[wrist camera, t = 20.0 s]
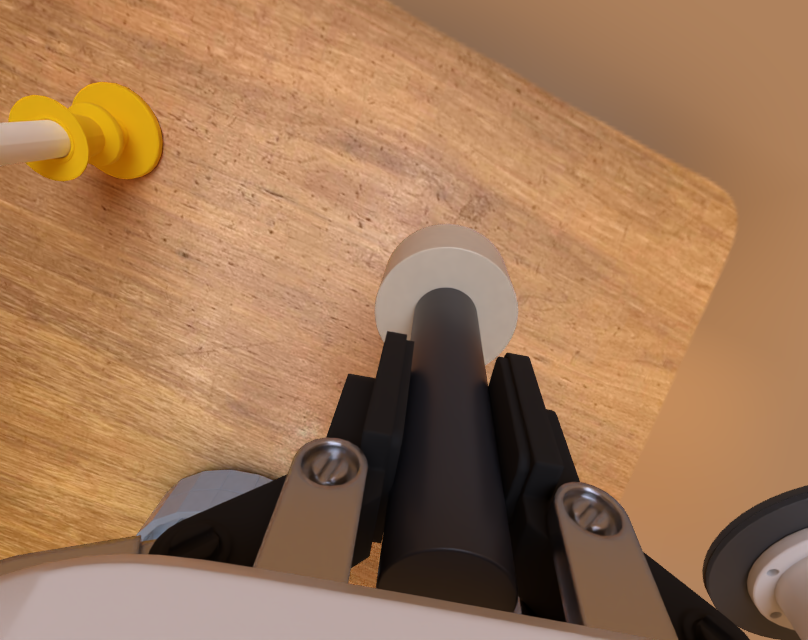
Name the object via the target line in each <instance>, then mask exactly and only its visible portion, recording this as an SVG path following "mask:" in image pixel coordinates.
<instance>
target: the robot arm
mask: <svg viewBox="0 0 808 640" xmlns="http://www.w3.org/2000/svg"><path fill="white" fill-rule="evenodd" d="M413 350H414V341H410V340H407V334H401V333H396V332H390V331H387V334H386V338H385V342H384V346H383V350H382V354H381V359H380V363H379V367H378V371H377V375H376V378H371V377H365V376H360V375H354V374H348V376H347V379H346V382H345V385H344V387H343V390H342V393H341V396H340V399H339V402H338V405H337V408H336V411H335V414H334V417H333V419H332V422H331V425H330V428H329V431H328V434H327V437H326V438H321V439H315V440H313V441H311V442H308V443H306V444H305V445H304V446H303V447H301V448H300V449H299V450H298V452H297V453H296V455H295V456H294V458H293V461H292V464H291V466H290V469H289V472H288V474H287V475H285V476H282V477H280V478H278V479H276V480H273V481H271V482H269V483H266V484H264V485H262V486H260V487H257V488H255V489H253V490H250V491H248V492H246V493H244V494H241V495H239V496H237V497H234V498H232V499H230V500H228V501H225V502H223V503H221V504H218V505H216V506H214V507H212V508H209V509H207V510H205V511H202V512H200V513H198V514H196V515H193V516H191V517H189V518H186V519H184V520H182V521H180V522H178V523H176V524H175V525H173V526H171V527H170V528H168V529H167V530H166V531H165V532H164V533H162V534H161V535H160V536H159V537H158V538H157V539H153V540H148V541H142V538H141V535H138V536H132V537H126V538H120V539H114V540H108V541H102V542H96V543H90V544H83V545H77V546H71V547H65V548H59V549H53V550H47V551H41V552H35V553H29V554H23V555H17V556H13V557H10V558H6V559H3V560H0V640H750V639H749V638H748V637H747V636H746V635H745V633H744V632H743V631H742V630H740V628H738V627H737V626H736V625H735V624H734V623H733V622H732V621H731V620H729V619H728V618H727V617H726V616H724V615H723V614H722V613H721V612H719V611H718V610H717V609H715V608H714V607H713V606H712V605H710V604H709V603H708V602H706V601H705V600H704V599H702V598H701V597H700V596H699V595H698V594H696V593H695V592H693V591H692V590H691V589H690V588H688V587H687V586H686V585H685V584H684V583H682V582H681V581H680V580H678V579H677V578H676V577H675V576H673V575H672V574H671V573H669V572H668V571H667V570H666V569H664V568H663V567H662V566H661V565H659V564H658V563H657V562H655V561H654V560H653V559H652V558H650V557H649V556H648V555H647V554H645V553H644V552H643V551H642V549H641V546H640V544H639V541H638V539H637V536H636V534H635V531H634V529H633V526H632V524H631V521H630V519H629V517H628V515H627V513H626V512H625V510H624V508H623V507H622V506H621V505H620V504H619V503H618V502H617V501H616V500H615V499H614V498H613V497H612V496H610V495H609V494H608V493H606V492H605V491H603V490H601V489H599V488H597V487H595V486H593V485H589V484H586V483H582V482H580V481H579V478H578V475H577V472H576V469H575V466H574V463H573V461H572V458H571V455H570V452H569V449H568V446H567V443H566V440H565V438H564V435H563V432H562V429H561V426H560V423H559V420H558V417H557V415H556V413H555V412H554V411H552V410H547V409H546V408H545V405H544V402H543V399H542V396H541V393H540V389H539V386H538V383H537V380H536V377H535V374H534V371H533V367H532V364H531V361H530V358H529V357H528V356H523V355H517V354H512V353H506V355H505V356H504V357H498V358H497V360H496V363H495V366H494V369H493V373H492V376H491V379H490V383H489V386H488V390H489V396H490V403H491V410H492V417H493V423H494V430H495V437H496V444H497V450H498V457H499V464H500V471H501V477H502V484H503V491H504V497H505V504H506V511H507V518H508V524H509V531H510V538H511V545H512V551H513V558H514V565H515V572H516V578H517V585H518V594H519V596H518V602H517V606H516V608H515V610H514V612H513V613H511V612H505V611H500V610H494V609H489V608H483V607H477V606H472V605H466V604H461V603H455V602H450V601H444V600H439V599H433V598H427V597H422V596H416V595H411V594H405V593H399V592H394V591H388V590H382V589H376V588H371V587H365V586H359V585H354V584H348V581H349V576H350V570H351V568H352V567H354V566H355V565H357V564H358V563H360V562H361V561H363V560H365V559H366V558H368V557H369V556H370V551H371V545H372V542H377V543H381V541H382V536H383V532H384V525H385V518H386V511H387V504H388V497H389V493H390V490H391V488H392V486H393V484H394V479H395V474H396V469H397V464H398V460H399V455H400V450H401V444H402V439H403V432H404V425H405V416H406V408H407V400H408V392H409V383H410V375H411V367H412V358H413ZM747 588H748V593H749V595H750V597H751V599H752V601H753V602H754V604H755V606H756V607H757V609H758V610H759V612H760V613H761V614H762V615H763V616H764V617H766V618H767V619H768V620H770V621H772V622H774V623H776V624H777V625H780V626H783V627H786V628H789V629H792V630H795V631H796V633H797V634H798V636H799V637H800V639H801V640H808V527H807V528H804V529H801V530H799V531H797V532H794V533H792V534H790V535H788V536H786V537H784V538H782V539H781V540H779V541H777V542H776V543H774V544H773V545H771V546H770V547H769V548H768V549H767V550H765V551H764V552H763V553H762V554H761V555H760V556H759V558H758V559H757V560H756V561H755V562H754V564H753V566H752V568H751V570H750V572H749V575H748V579H747Z"/></svg>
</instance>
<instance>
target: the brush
mask: <svg viewBox="0 0 808 640" xmlns="http://www.w3.org/2000/svg"><path fill="white" fill-rule="evenodd" d="M517 319H518V302H517V298H516V293H515V291H514V288H513V285H512V282H511V279H510V277H509V274H508V271H507V268H506V265H505V263H504V260H503V258H502V256H501V254H500V252H499V251H498V249H497V248H496V247H495V245H494V244H493V243H492V242H491V241H490V240H489V239H488V238H486V237H485V236H484V235H482V234H481V233H479V232H477V231H475V230H473V229H470V228H468V227H465V226H461V225H455V224H438V225H432V226H428V227H425V228H422V229H420V230H418V231H416V232H414V233H412V234H411V235H409V236H408V237H407V238H405V239H404V240H403V241H402V242H401V243H400V244H399V245H398V246H397V247H396V249H395V250H394V252H393V253H392V255H391V257H390V259H389V261H388V264H387V266H386V269H385V272H384V275H383V278H382V281H381V284H380V287H379V290H378V293H377V297H376V301H375V321H376V326H377V329H378V332H379V335H380V337H381V339H382V340H383V342H385V338H386V334H387V331H390V332H396V333H401V334H407V340H410V341H414V350H413V358H412V367H411V375H410V383H409V392H408V400H407V408H406V416H405V425H404V432H403V439H402V444H401V450H400V455H399V460H398V464H397V469H396V474H395V479H394V484H393V486H392V488H391V490H390V493H389V497H388V504H387V511H386V518H385V525H384V533H383V540H382V547H381V554H380V561H379V569H378V576H377V583H376V589H382V590H388V591H394V592H399V593H405V594H411V595H416V596H422V597H427V598H433V599H439V600H444V601H450V602H455V603H461V604H466V605H472V606H477V607H483V608H489V609H494V610H500V611H505V612H511V613H513V612H514V610H515V608H516V606H517V602H518V596H519V594H518V585H517V578H516V572H515V565H514V558H513V551H512V545H511V538H510V531H509V524H508V518H507V511H506V504H505V497H504V491H503V484H502V477H501V471H500V464H499V457H498V450H497V444H496V437H495V430H494V423H493V417H492V410H491V403H490V396H489V390H488V383H487V376H486V369H485V365H486V364H488V363H490V362H491V361H492V360H494V359H495V358H496V357H497V356H498V355H499V354H500V353H501V352H502V351H503V350H504V349H505V347H506V346H507V345H508V343H509V341H510V340H511V338H512V336H513V333H514V331H515V328H516V324H517Z"/></svg>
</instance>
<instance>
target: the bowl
mask: <svg viewBox="0 0 808 640" xmlns="http://www.w3.org/2000/svg"><path fill="white" fill-rule="evenodd" d="M271 481H273V480H271V479H269V478H266V477H264V476H262V475H258V474H252V473H247V472H242V471H236V470H231V469H230V470H212V471H203V472H200V473H197V474H194V475H192V476H189V477H186V478H183V479H181V480H180V481H179V482H178V483H177V484H175V485H174V486H173V487H172V488H171V489H170V490H169V491H168V492H167V493H166V494H165V495H164V497H163V498H162V499H161V501H160V502H159V504H158V505H157V507H156V508H155V509H154V511H153V512H152V514H151V515H150V516H149V518H148V519H147V521H146V522H145V523H144V525H143V526H142V528H141V529H140V531H139V532H138V533H137V535H136V536H138V535H141V538H142V541H148V540H153V539H157V538H158V537H159V536H160V535H161V534H162V533H164V532H165V531H166V530H167V529H168V528H170V527H171V526H173V525H175V524H176V523H178V522H180V521H182V520H184V519H186V518H189V517H191V516H193V515H196V514H198V513H200V512H202V511H205V510H207V509H209V508H212V507H214V506H216V505H218V504H221V503H223V502H225V501H228V500H230V499H232V498H234V497H237V496H239V495H241V494H244V493H246V492H248V491H250V490H253V489H255V488H257V487H260V486H262V485H264V484H266V483H269V482H271Z"/></svg>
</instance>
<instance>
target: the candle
mask: <svg viewBox="0 0 808 640" xmlns="http://www.w3.org/2000/svg"><path fill="white" fill-rule="evenodd" d="M8 121H9V122H6V123H0V166H5V165H12V164H19V163H26V164H27V165H28V166H29V167H31V168H32V169H33V170H34V171H35V172H37V173H39V174H40V175H42V176H43V177H46V178H49V179H51V180H55V181H68V180H73V179H75V178H77V177H78V176H80V175H81V174H82V173H83V172H84V170H85V169H86V167H87V164H88V163H89V164H92V165H94V166H95V167H96V168H98V169H99V170H101V171H103V172H104V173H106V174H108V175H110V176H113V177H116V178H120V179H133V178H139V177H143V176H144V175H146V174H148V173H150V172H151V171H152V170H153V169H154V168H155V167H156V165H157V164H158V162H159V159H160V157H161V155H162V146H163V140H162V133H161V129H160V126H159V123H158V121H157V118H156V116H155V115H154V113H153V111H152V110H151V108H150V107H149V105H148V104H147V103H146V102H145V101H144V100H143V99H142V98H141V97H140V96H139V95H138V94H136V93H135V92H133V91H132V90H130V89H129V88H127V87H124V86H122V85H119V84H117V83H108V82H97V83H93V84H89V85H87V86H86V87H84V88H83V89H81V90H80V91H79V92H78V94H77V95H76V97H75V98H74V100H73V103H72V106H70V107H69V108H68V109H67V108H66V107H65V106H63V105H62V104H60V103H59V102H57V101H56V100H53V99H51V98H48V97H46V96H39V95H31V96H26V97H23V98H21V99H20V100H19V101H17V102H16V103H15V104H14V106H13V107H12V109H11V111H10V115H9V119H8Z"/></svg>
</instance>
